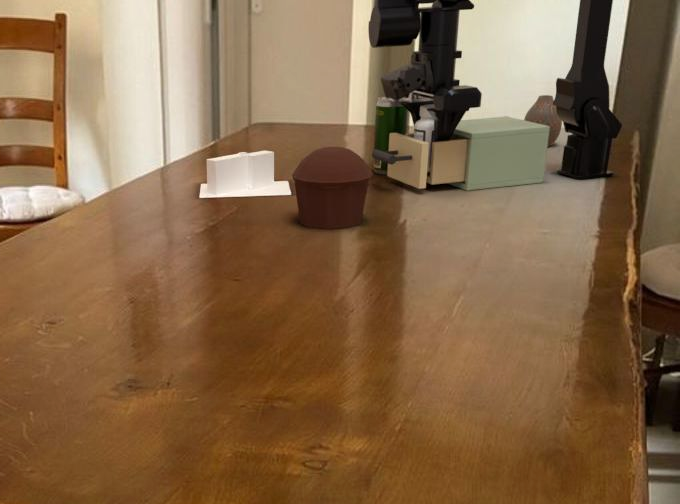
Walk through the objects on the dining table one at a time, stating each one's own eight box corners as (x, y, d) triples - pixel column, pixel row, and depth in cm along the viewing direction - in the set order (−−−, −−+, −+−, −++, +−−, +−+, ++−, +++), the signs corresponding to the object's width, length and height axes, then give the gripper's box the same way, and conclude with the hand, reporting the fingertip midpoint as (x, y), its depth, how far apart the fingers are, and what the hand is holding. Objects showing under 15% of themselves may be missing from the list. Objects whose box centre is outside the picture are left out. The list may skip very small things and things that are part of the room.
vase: (527, 141, 195) (533, 93, 191) (563, 143, 192) (570, 94, 187) (515, 147, 190) (520, 97, 186) (551, 149, 187) (558, 99, 183)
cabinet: (466, 190, 159) (472, 133, 155) (428, 176, 170) (432, 122, 166) (543, 182, 162) (550, 126, 158) (501, 169, 173) (506, 116, 169)
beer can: (388, 176, 171) (392, 101, 166) (366, 172, 175) (369, 98, 170) (410, 171, 174) (415, 97, 168) (389, 167, 178) (393, 95, 172)
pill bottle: (447, 167, 164) (452, 103, 159) (444, 173, 160) (449, 108, 155) (414, 166, 166) (417, 103, 161) (409, 172, 161) (413, 108, 157)
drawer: (394, 191, 157) (397, 145, 153) (363, 178, 166) (365, 135, 163) (490, 181, 160) (495, 136, 157) (455, 169, 170) (458, 126, 167)
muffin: (378, 228, 140) (382, 154, 135) (299, 233, 140) (300, 158, 135) (359, 210, 151) (362, 140, 146) (286, 214, 150) (286, 144, 145)
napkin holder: (199, 198, 163) (198, 161, 160) (200, 183, 173) (199, 149, 170) (292, 194, 162) (292, 157, 159) (287, 180, 172) (288, 145, 169)
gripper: (363, 43, 160) (359, 146, 167) (418, 52, 144) (411, 165, 152) (427, 38, 162) (420, 140, 170) (488, 46, 146) (477, 158, 154)
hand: (430, 150), depth 161 cm, fingers closed on pill bottle, 5 cm apart
